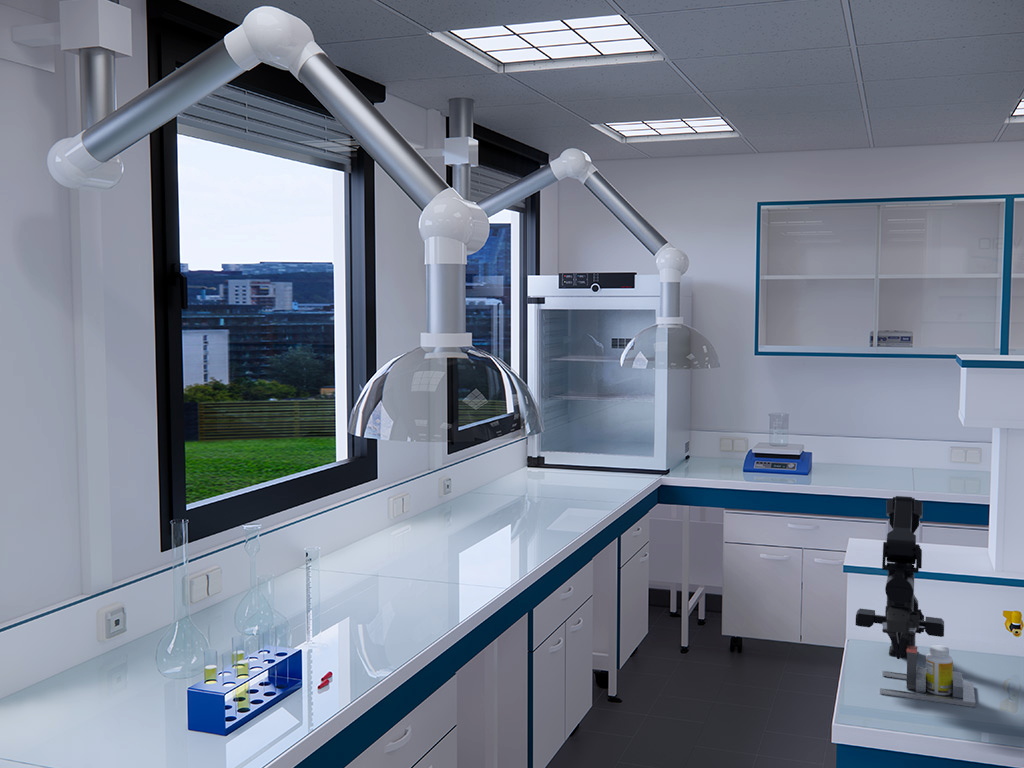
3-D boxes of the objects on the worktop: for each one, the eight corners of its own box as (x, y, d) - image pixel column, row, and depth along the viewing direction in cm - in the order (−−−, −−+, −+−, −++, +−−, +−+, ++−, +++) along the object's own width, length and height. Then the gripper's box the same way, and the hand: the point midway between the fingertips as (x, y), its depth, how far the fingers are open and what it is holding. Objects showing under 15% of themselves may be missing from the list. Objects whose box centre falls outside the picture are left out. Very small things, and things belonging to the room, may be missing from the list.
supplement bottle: (955, 691, 211) (956, 647, 211) (947, 698, 207) (948, 653, 207) (930, 685, 215) (930, 642, 215) (922, 692, 211) (922, 647, 210)
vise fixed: (882, 674, 222) (882, 660, 222) (973, 686, 214) (973, 671, 214) (879, 693, 210) (880, 678, 210) (975, 707, 202) (975, 691, 202)
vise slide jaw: (906, 680, 218) (907, 641, 218) (925, 682, 216) (926, 643, 216) (905, 693, 210) (906, 653, 209) (925, 696, 208) (926, 655, 208)
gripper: (854, 596, 210) (852, 663, 211) (945, 606, 202) (942, 676, 203) (858, 584, 220) (856, 648, 221) (944, 593, 212) (942, 660, 213)
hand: (898, 658), depth 214 cm, fingers closed
